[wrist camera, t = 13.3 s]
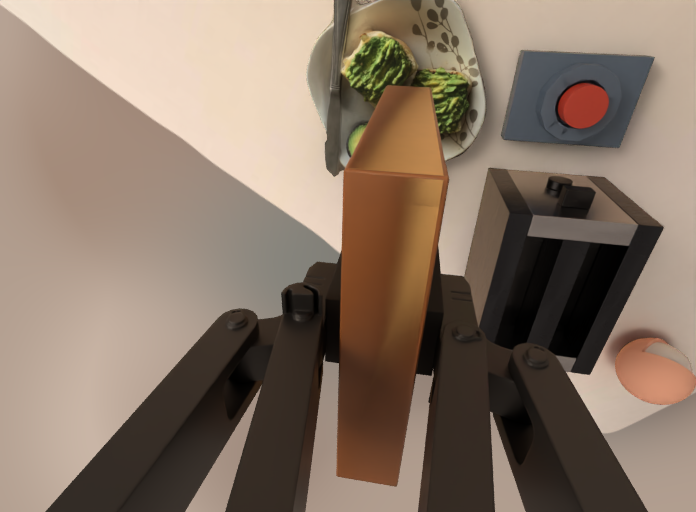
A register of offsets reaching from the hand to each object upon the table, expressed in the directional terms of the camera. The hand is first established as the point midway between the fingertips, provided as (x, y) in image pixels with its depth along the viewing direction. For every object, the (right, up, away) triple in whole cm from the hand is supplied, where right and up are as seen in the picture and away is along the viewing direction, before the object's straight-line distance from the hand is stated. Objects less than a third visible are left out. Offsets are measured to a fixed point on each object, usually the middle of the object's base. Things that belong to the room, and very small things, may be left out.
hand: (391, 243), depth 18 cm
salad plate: (+3, +16, +23) cm, 28 cm away
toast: (+1, +3, +5) cm, 6 cm away
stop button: (+19, +13, +18) cm, 29 cm away
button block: (+20, +15, +20) cm, 32 cm away
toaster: (+19, +1, +29) cm, 34 cm away
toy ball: (+36, -13, +34) cm, 51 cm away
